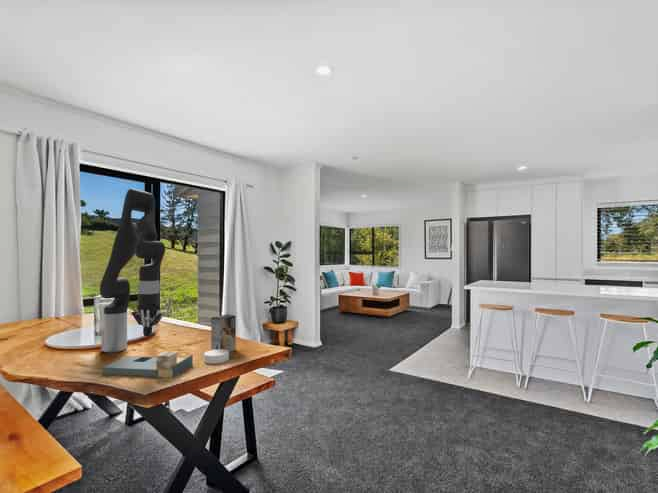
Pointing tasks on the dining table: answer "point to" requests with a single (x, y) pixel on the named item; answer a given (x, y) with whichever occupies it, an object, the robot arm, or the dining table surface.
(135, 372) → the box
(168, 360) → the block
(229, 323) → the coffee box
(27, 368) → the dining table surface
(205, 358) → the white ridged round container
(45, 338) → the dining table surface
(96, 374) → the dining table surface
